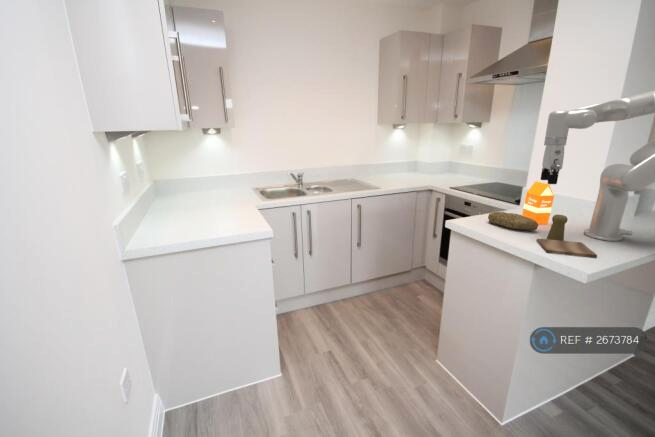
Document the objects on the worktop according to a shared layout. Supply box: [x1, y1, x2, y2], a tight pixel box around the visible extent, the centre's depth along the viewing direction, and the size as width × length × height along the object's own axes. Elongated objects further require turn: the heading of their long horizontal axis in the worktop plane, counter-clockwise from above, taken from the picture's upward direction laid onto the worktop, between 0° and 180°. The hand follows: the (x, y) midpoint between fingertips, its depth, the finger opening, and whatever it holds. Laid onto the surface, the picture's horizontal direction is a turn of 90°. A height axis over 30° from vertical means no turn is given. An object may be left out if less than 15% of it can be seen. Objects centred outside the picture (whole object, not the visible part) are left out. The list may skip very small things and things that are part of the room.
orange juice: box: [521, 180, 555, 225], centre depth 153 cm, size 8×9×20 cm
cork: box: [546, 214, 569, 241], centre depth 130 cm, size 6×6×11 cm
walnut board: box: [536, 237, 598, 259], centre depth 122 cm, size 16×13×1 cm
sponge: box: [487, 210, 539, 231], centre depth 147 cm, size 13×8×20 cm
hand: (548, 182), depth 134 cm, fingers open, 9 cm apart
